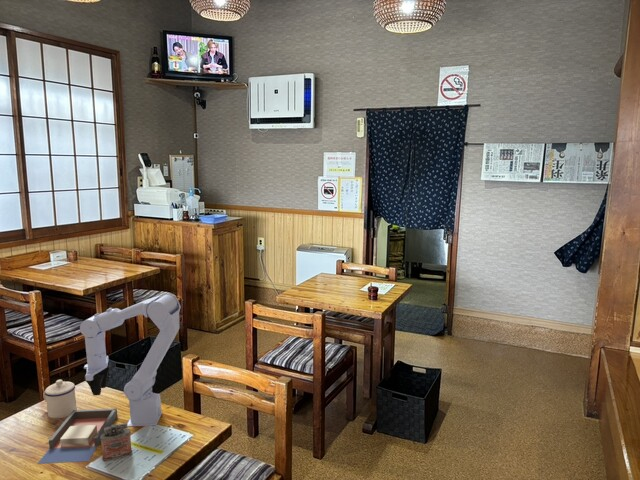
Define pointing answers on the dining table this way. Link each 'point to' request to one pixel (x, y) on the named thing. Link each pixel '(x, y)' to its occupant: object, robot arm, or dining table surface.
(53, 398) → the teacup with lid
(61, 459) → the indigo mat
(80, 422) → the grey and pink tray
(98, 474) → the dining table surface
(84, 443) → the slab
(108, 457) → the lighter
